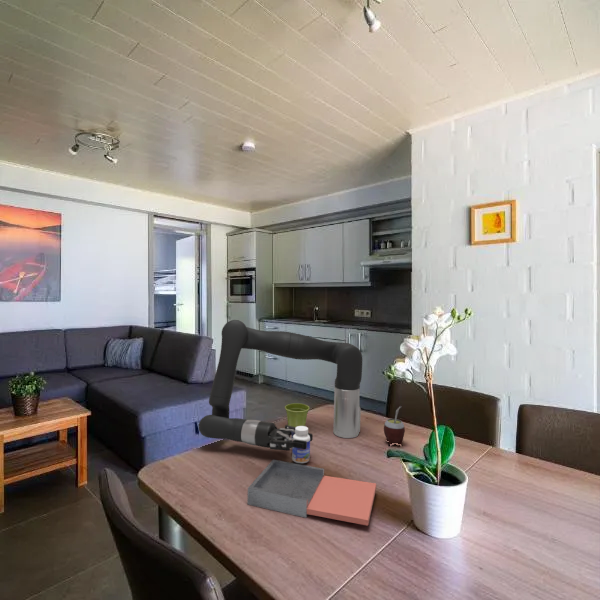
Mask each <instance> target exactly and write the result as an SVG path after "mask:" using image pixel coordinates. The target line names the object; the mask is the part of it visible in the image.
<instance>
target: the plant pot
mask: <svg viewBox="0 0 600 600" xmlns="http://www.w3.org/2000/svg"><path fill="white" fill-rule="evenodd" d="M284 409H285V412H286V419H287V425H289V426H293V427H297V426H305V427H306V423H307V417H308V413H309V410H310V409H311V408H310V406H309V405H308V404H305V403H299V402H298V403H297V402H295V403H288V404H286V405H285V406H284Z"/></svg>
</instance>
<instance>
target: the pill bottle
mask: <svg viewBox="0 0 600 600" xmlns="http://www.w3.org/2000/svg"><path fill="white" fill-rule="evenodd" d="M295 433H296V434H294V435H293V439H294V440H295V439H296V440H303V441H306V442H307V448H306V449H300V448H291V449H292V450H291V452H292V453H291V460H292V461H293V463H295V464H306V463H309V462H310V457H311V456H310V455H311V453H310V452H311V441H310V436H309V435H308V433H309V427H307V426H306V425H305V426H297V427H296V428H295Z"/></svg>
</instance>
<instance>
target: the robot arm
mask: <svg viewBox="0 0 600 600" xmlns="http://www.w3.org/2000/svg"><path fill="white" fill-rule="evenodd" d="M220 347H221V348H220V354H219V359H218V364H217V367H216V371H215V374H214V377H213V381H212V382H213V383H212V385H211V391H210V394H209V399H208V404H209V406H211V414H207V415H205V416H203V417H202V418H201V419H200V420H199V422H198V431H199V432H200V434H201V435H202V437H205V438H209V439H215V440H216V439H218V440H228V441H229V440H230V441H234V442H237V443H238V442H239V443H244V444H247V445H252V446H255V447H263V448H267V449H269V450H277V451H285V452H286V451H291V449H292V448H300V449H306V448H307V442H306V441H303V440H296V439H295V440H294V439H293V435H294V434H296V433H295V428H296V427H293V426H289V425H288V424H286V425H284V427H281V428H277V426H276V424H275V423H274V422H271V421H265V420H264V421H262V420H257V419H245V418H237V417H235V418H234V417H233V418H230V402H231V398H232V394H233V390H234V385H235V378H236V371H237V366H238V360H239V357H240V353H241V351H242V349H243V350H244V349H245V350H246V349H247V350H256V351H261V352H264V353H268V354H271V355H274V356H279V357H283V358H286V359H287V358H288V359H293V360H301V361H302V360H304V361H305V360H307V361H308V360H311V361H312V360H319V361H324V362H329V363H333V364H336V377H335V379H334V392H333V393H334V395H333V396H334V399H333V404H334V405H333V434H334V435H335V436H337V437H338V438H344V439H352V438H353V439H354V438H356V437H358V435H359V434H360V433H361V413H362V412H361V411H362V409H361V407H360V394H361V393H360V387H361V382H362V377H363V376H362V375H363V373H362V372H363V355H362V351H361V350H360V349H359V348H358V347H357V346H355V344H352V343H349V342H338V341H330V340H329V341H327V340H323V339H318V338H315V337H312V336H309V335H304V334H301V333H295V332H292V331H285V330H284V331H279V330H278V331H277V330H269V331H268V330H261V329H260V330H259V329H255V328H251V327H248V326H247V325H246V324H245V323H244V322H243V321H241V320H238V319H231V320H229V321H227V322H226V323H225V324H224V325H223V327H222V329H221V346H220ZM359 432H360V433H359ZM308 435H309V436H310V442H312V441H313V440H314V439H313V437H314V435H313V433H309V432H308Z"/></svg>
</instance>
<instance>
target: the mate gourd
mask: <svg viewBox="0 0 600 600" xmlns="http://www.w3.org/2000/svg"><path fill="white" fill-rule="evenodd" d="M401 408H402V406H401V405H400V406H399V407H397V409H396V410H395V416H394V418H388V419H386V420H385V422H384V426H383V433H384V436H385V440H387V441H389V443H388V445H390V444H392V443H398V444H403V440H404V436H405V432H406V431H405V430H406V428H405V424H404V422H403V421H402V420H400V419H397V418H398V414H399V412H400V411H399V410H400V409H401Z"/></svg>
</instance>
